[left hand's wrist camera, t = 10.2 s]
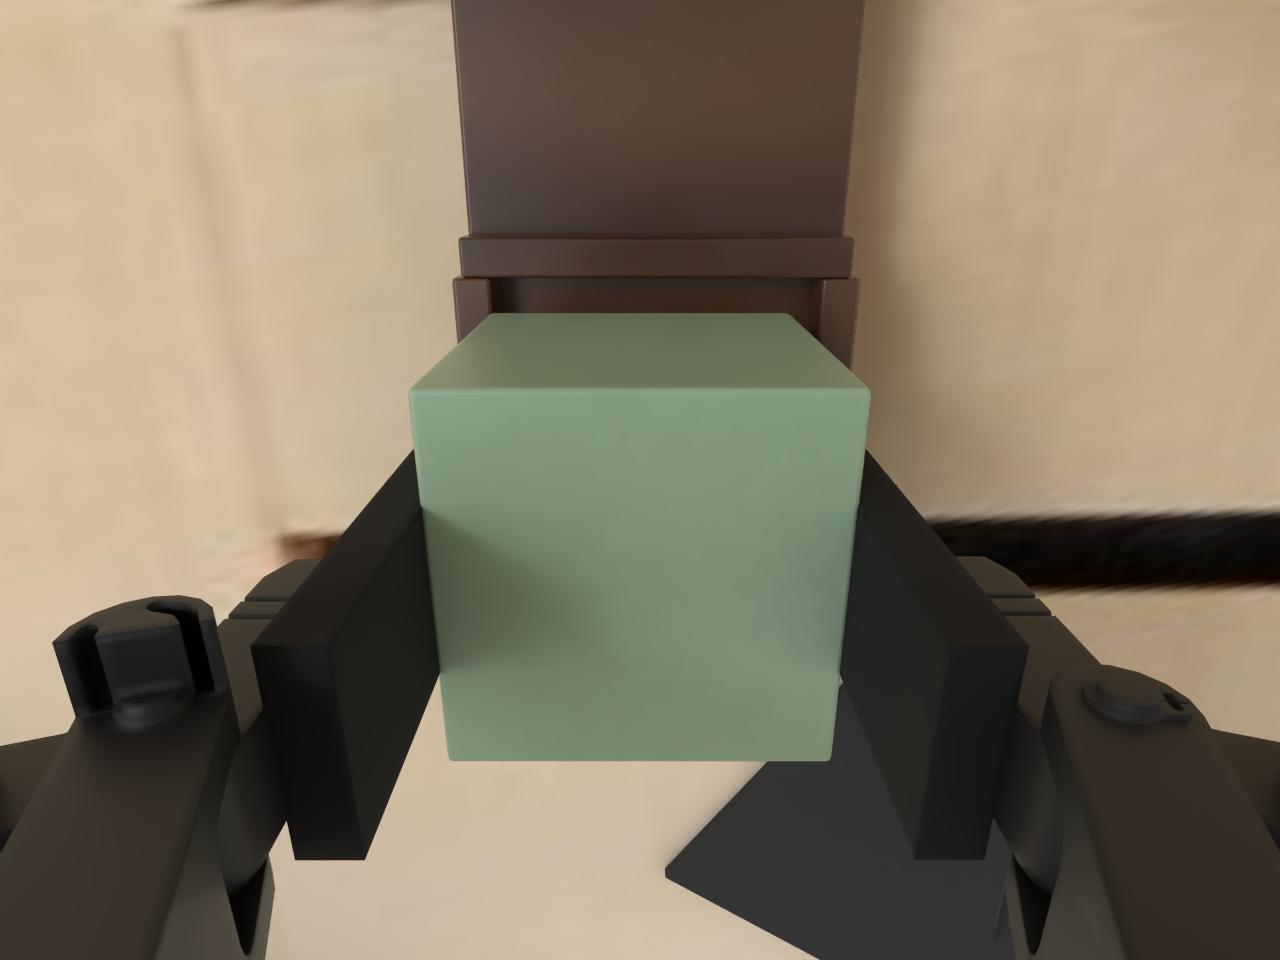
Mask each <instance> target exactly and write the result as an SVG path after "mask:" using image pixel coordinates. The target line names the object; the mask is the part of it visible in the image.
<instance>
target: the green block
mask: <svg viewBox="0 0 1280 960" xmlns="http://www.w3.org/2000/svg"><path fill="white" fill-rule="evenodd" d="M408 397H409V406H410V415H411V424H412V433H413V442H414V451H415V460H416V469H417V478H418V488H419V497H420V504H421V508H422V517H423V526H424V535H425V544H426V553H427V562H428V571H429V580H430V589H431V598H432V607H433V616H434V625H435V634H436V644H437V653H438V662H439V671H440V674H439V677H440V686H441V695H442V705H443V714H444V723H445V732H446V741H447V750H448V756H449V759H450V760H452V761H828V760H830V758H831V754H832V745H833V736H834V727H835V718H836V709H837V700H838V691H839V682H840V666H841V657H842V648H843V639H844V630H845V621H846V612H847V603H848V594H849V584H850V575H851V566H852V557H853V548H854V539H855V530H856V521H857V512H858V506H859V501H860V492H861V483H862V474H863V465H864V456H865V447H866V438H867V429H868V420H869V411H870V402H871V391H870V389H869V388H868V387H867V386H866V385H865V384H864V383H863V382H862V381H861V380H860V379H859V378H857V377H856V376H855V375H854V374H853V373H852V372H851V371H850V370H849V369H848V368H847V367H846V366H844V365H843V364H842V363H841V362H840V361H839V360H838V359H837V358H836V357H835V356H834V355H833V354H832V353H830V352H829V351H828V350H827V349H826V348H825V347H824V346H823V345H822V344H821V343H820V342H819V341H818V340H816V339H815V338H814V337H813V336H812V335H811V334H810V333H809V332H808V331H807V330H806V329H805V328H803V327H802V326H801V325H800V324H799V323H798V322H797V321H796V320H795V319H794V318H793V317H792V316H791V315H789V314H787V313H493V314H490V315H489V316H488V317H487V318H486V319H485V320H484V321H483V322H482V323H481V324H479V325H478V326H477V327H476V328H475V329H474V330H473V331H472V332H471V333H470V334H469V335H468V336H466V337H465V338H464V339H463V340H462V341H461V342H460V343H459V344H458V345H457V346H456V347H455V348H453V349H452V350H451V351H450V352H449V353H448V354H447V355H446V356H445V357H444V358H443V359H442V360H440V361H439V362H438V363H437V364H436V365H435V366H434V367H433V368H432V369H431V370H430V371H429V372H427V373H426V374H425V375H424V376H423V377H422V378H421V379H420V380H419V381H418V382H417V383H415V384H414V385H413V386H412V387H411V388H410V390H409V393H408Z"/></svg>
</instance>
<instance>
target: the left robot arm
mask: <svg viewBox="0 0 1280 960" xmlns="http://www.w3.org/2000/svg"><path fill="white" fill-rule="evenodd" d="M52 643H53V647H54V650H55V653H56V656H57V659H58V662H59V665H60V669H61V672H62V675H63V678H64V681H65V684H66V687H67V691H68V694H69V697H70V700H71V703H72V706H73V709H74V713H75V716H76V718H75V720H74V722H73V724H72V725H71V727H70V729H69V731H68V733H64V734H60V735H55V736H50V737H45V738H39V739H34V740H29V741H24V742H19V743H14V744H9V745H3V746H0V960H265V955H266V948H267V941H268V934H269V927H270V920H271V913H272V906H273V899H274V892H275V886H274V878H273V871H272V867H271V863H270V858H269V854H268V853H269V852H270V850H271V848H272V846H273V844H274V843H275V841H276V839H277V837H278V835H279V833H280V832H281V830H282V828H283V826H284V824H285V822H286V821H287V824H288V829H289V834H290V838H291V843H292V848H293V852H294V857H295V860H365V858H366V856H367V853H368V851H369V848H370V846H371V843H372V841H373V838H374V836H375V833H376V831H377V828H378V826H379V823H380V821H381V818H382V816H383V813H384V811H385V808H386V806H387V803H388V801H389V799H390V796H391V794H392V791H393V789H394V786H395V784H396V781H397V779H398V776H399V774H400V771H401V769H402V766H403V764H404V761H405V759H406V756H407V754H408V751H409V749H410V746H411V744H412V741H413V739H414V736H415V734H416V731H417V729H418V726H419V724H420V721H421V719H422V716H423V714H424V711H425V709H426V706H427V704H428V701H429V699H430V696H431V694H432V691H433V689H434V687H435V684H436V682H437V679H438V677H439V674H440V671H439V662H438V653H437V644H436V634H435V625H434V616H433V607H432V598H431V589H430V580H429V571H428V562H427V553H426V544H425V535H424V526H423V517H422V508H421V504H420V497H419V488H418V478H417V469H416V460H415V451H414V449H413V450H412V451H411V453H410V454H409V455H408V456H407V457H406V459H405V460H404V461H403V462H402V463H401V465H400V466H399V467H398V468H397V469H396V471H395V472H394V473H393V474H392V475H391V477H390V478H389V479H388V480H387V481H386V483H385V484H384V485H383V486H382V488H381V489H380V490H379V491H378V492H377V494H376V495H375V496H374V497H373V498H372V500H371V501H370V502H369V503H368V504H367V506H366V507H365V508H364V509H363V510H362V512H361V513H360V514H359V515H358V516H357V518H356V519H355V520H354V521H353V522H352V524H351V525H350V526H349V527H348V528H347V530H346V531H345V532H344V533H343V535H342V536H341V537H340V538H339V539H338V541H337V542H336V543H335V544H334V545H333V547H332V548H331V549H330V550H329V551H328V553H327V554H326V555H325V556H324V557H323V559H295V560H293V561H292V562H290V563H288V564H286V565H284V566H283V567H281V568H279V569H277V570H276V571H274V572H272V573H270V574H268V575H267V576H265V577H264V578H263V579H262V580H261V581H260V582H259V583H258V584H257V585H256V586H255V587H254V588H253V589H252V590H251V591H250V593H249V594H248V595H247V596H246V597H245V602H240V603H239V604H238V605H237V606H236V607H235V609H234V610H233V611H232V612H231V613H230V614H229V618H228V619H224V620H223V621H222V622H221V623H220V625H219V626H218V627H217V625H216V620H215V616H214V611H213V607H212V606H210V605H209V604H207V603H206V602H204V601H203V600H202V599H198V598H193V597H187V596H181V595H176V596H157V597H149V598H144V599H139V600H135V601H130V602H125V603H121V604H119V605H116V606H113V607H110V608H107V609H105V610H102V611H99V612H96V613H93V614H92V615H90V616H88V617H86V618H84V619H82V620H81V621H79V622H77V623H75V624H73V625H72V626H70V627H68V628H67V629H66V630H65V631H64V632H63V633H62V634H61V635H60V636H59V637H57V638H56V639H55V640H54V641H53V642H52ZM840 675H841V678H842V680H843V683H844V685H845V688H846V690H847V693H848V695H849V698H850V700H851V703H852V705H853V708H854V710H855V713H856V715H857V718H858V720H859V723H860V725H861V728H862V730H863V733H864V735H865V738H866V740H867V743H868V745H869V748H870V750H871V753H872V755H873V758H874V760H875V763H876V765H877V768H878V770H879V773H880V775H881V777H882V780H883V782H884V785H885V787H886V790H887V792H888V795H889V797H890V800H891V802H892V805H893V807H894V810H895V812H896V815H897V817H898V820H899V822H900V825H901V827H902V830H903V832H904V835H905V837H906V840H907V842H908V845H909V847H910V850H911V852H912V855H913V857H914V860H984V859H985V854H986V850H987V845H988V840H989V835H990V831H991V826H992V821H993V818H994V819H995V821H996V823H997V825H998V827H999V828H1000V830H1001V832H1002V834H1003V836H1004V837H1005V839H1006V841H1007V843H1008V845H1009V847H1010V848H1011V850H1012V854H1011V858H1010V863H1009V867H1008V871H1007V876H1006V880H1005V885H1004V889H1003V894H1002V898H1001V902H1000V907H999V911H998V916H997V920H996V924H995V932H994V939H993V942H996V943H1000V944H1004V945H1005V940H1006V936H1007V932H1008V928H1009V926H1010V925H1011V932H1012V939H1013V946H1014V953H1015V960H1280V742H1275V741H1270V740H1265V739H1260V738H1255V737H1249V736H1244V735H1239V734H1234V733H1229V732H1223V731H1219V730H1215V729H1211V727H1210V726H1209V724H1208V722H1207V720H1206V719H1205V717H1204V715H1203V714H1202V713H1201V712H1200V711H1199V710H1198V709H1197V707H1196V706H1195V705H1194V704H1193V703H1192V702H1191V701H1190V699H1188V698H1187V697H1185V696H1183V695H1182V694H1180V693H1179V692H1177V691H1176V690H1174V689H1173V688H1171V687H1170V686H1168V685H1167V684H1165V683H1162V682H1160V681H1158V680H1155V679H1153V678H1151V677H1148V676H1146V675H1143V674H1141V673H1139V672H1135V671H1131V670H1127V669H1123V668H1119V667H1115V666H1110V665H1101V664H1100V663H1099V662H1098V661H1097V660H1096V658H1095V657H1094V656H1093V655H1092V654H1091V653H1090V652H1089V651H1088V650H1087V649H1086V648H1085V647H1084V646H1083V645H1082V644H1081V643H1080V642H1079V641H1078V639H1077V638H1076V637H1075V636H1074V635H1073V634H1072V633H1071V632H1070V631H1069V630H1068V629H1067V628H1066V627H1065V626H1064V625H1063V624H1062V623H1061V621H1060V620H1059V619H1058V618H1057V617H1056V616H1052V615H1051V611H1050V610H1049V609H1048V608H1047V607H1046V606H1045V605H1044V603H1043V602H1042V601H1041V600H1040V599H1035V594H1034V593H1033V592H1032V591H1031V590H1030V589H1029V588H1028V587H1027V585H1026V584H1025V583H1024V582H1023V581H1022V580H1021V579H1020V578H1019V577H1018V576H1017V575H1016V574H1015V573H1013V572H1011V571H1009V570H1007V569H1006V568H1004V567H1002V566H1000V565H998V564H997V563H995V562H993V561H991V560H990V559H988V558H986V557H955V556H954V555H953V553H952V552H951V551H950V550H949V548H948V547H947V546H946V545H945V544H944V542H943V541H942V540H941V539H940V538H939V536H938V535H937V534H936V533H935V532H934V530H933V529H932V528H931V527H930V526H929V524H928V523H927V522H926V521H925V520H924V518H923V517H922V516H921V515H920V514H919V512H918V511H917V510H916V509H915V508H914V506H913V505H912V504H911V503H910V501H909V500H908V499H907V498H906V497H905V495H904V494H903V493H902V492H901V491H900V489H899V488H898V487H897V486H896V485H895V483H894V482H893V481H892V480H891V479H890V477H889V476H888V475H887V474H886V473H885V471H884V470H883V469H882V468H881V467H880V465H879V464H878V463H877V462H876V460H875V459H874V458H873V457H872V456H871V454H870V453H869V452H868V451H867V450H866V448H865V456H864V465H863V474H862V483H861V492H860V501H859V506H858V512H857V521H856V530H855V539H854V548H853V557H852V566H851V575H850V584H849V594H848V603H847V612H846V621H845V630H844V639H843V648H842V657H841V666H840Z"/></svg>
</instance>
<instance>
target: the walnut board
mask: <svg viewBox="0 0 1280 960" xmlns="http://www.w3.org/2000/svg"><path fill="white" fill-rule="evenodd" d="M864 6H865V0H451V9H452V22H453V35H454V48H455V61H456V74H457V87H458V100H459V113H460V125H461V138H462V151H463V164H464V177H465V190H466V203H467V216H468V229H469V235H466V236H463V237H461V238H459V241H458V242H459V254H460V266H461V275H459V276H458V277H456V278H454V279H453V282H452V284H453V296H454V307H455V319H456V330H457V342H458V344H459V343H460V342H461V341H462V340H463V339H464V338H465V337H466V336H468V335H469V334H470V333H471V332H472V331H473V330H474V329H475V328H476V327H477V326H478V325H479V324H481V323H482V322H483V321H484V320H485V319H486V318H487V317H488V316H489V315H490V314H493V313H787V314H789V315H791V316H792V317H793V318H794V319H795V320H796V321H797V322H798V323H799V324H800V325H801V326H802V327H803V328H805V329H806V330H807V331H808V332H809V333H810V334H811V335H812V336H813V337H814V338H815V339H816V340H818V341H819V342H820V343H821V344H822V345H823V346H824V347H825V348H826V349H827V350H828V351H829V352H830V353H832V354H833V355H834V356H835V357H836V358H837V359H838V360H839V361H840V362H841V363H842V364H843V365H844V366H846V367H847V368H848V369H849V370H850V371H851V370H852V360H853V351H854V341H855V331H856V321H857V311H858V301H859V292H860V280H859V279H858V278H856V277H854V276H852V266H853V255H854V245H855V240H854V238H852V237H849V236H846V235H843V234H844V223H845V212H846V202H847V191H848V180H849V169H850V158H851V147H852V136H853V125H854V115H855V104H856V93H857V82H858V71H859V60H860V49H861V38H862V28H863V17H864Z"/></svg>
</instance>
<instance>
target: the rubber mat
mask: <svg viewBox="0 0 1280 960" xmlns="http://www.w3.org/2000/svg"><path fill="white" fill-rule="evenodd" d="M1011 854H1012V850H1011V848H1010V847H1009V845H1008V843H1007V841H1006V839H1005V837H1004V836H1003V834H1002V832H1001V830H1000V828H999V827H998V825H997V823H996V821H995V819H994V818H993V821H992V826H991V831H990V835H989V840H988V845H987V850H986V854H985V859H984V860H914V857H913V855H912V852H911V850H910V847H909V845H908V842H907V840H906V837H905V835H904V832H903V830H902V827H901V825H900V822H899V820H898V817H897V815H896V812H895V810H894V807H893V805H892V802H891V800H890V797H889V795H888V792H887V790H886V787H885V785H884V782H883V780H882V777H881V775H880V773H879V770H878V768H877V765H876V763H875V760H874V758H873V755H872V753H871V750H870V748H869V745H868V743H867V740H866V738H865V735H864V733H863V730H862V728H861V725H860V723H859V720H858V718H857V715H856V713H855V710H854V708H853V705H852V703H851V700H850V698H849V695H848V693H847V690H846V688H845V685H844V683H843V684H842V685H841V686H840V687H839V691H838V700H837V709H836V718H835V727H834V736H833V745H832V754H831V758H830V760H828V761H768V762H767V763H766V764H765V765H764V766H763V767H762V768H761V769H760V770H759V771H758V772H757V773H756V775H755V776H754V777H753V778H752V779H751V780H750V781H749V782H748V783H747V784H746V785H745V786H744V787H743V788H742V789H741V790H740V791H739V792H738V793H737V794H736V795H735V796H734V797H733V798H732V799H731V801H730V802H729V803H728V804H727V805H726V806H725V807H724V808H723V809H722V810H721V811H720V812H719V813H718V814H717V815H716V816H715V817H714V818H713V819H712V820H711V821H710V822H709V823H708V824H707V825H706V826H705V828H704V829H703V830H702V831H701V832H700V833H699V834H698V835H697V836H696V837H695V838H694V839H693V840H692V841H691V842H690V843H689V844H688V845H687V846H686V847H685V848H684V849H683V850H682V851H681V852H680V854H679V855H678V856H677V857H676V858H675V859H674V860H673V861H672V862H671V863H670V864H669V865H668V866H667V867H666V868H665V877H666V878H667V879H669V880H671V881H673V882H675V883H677V884H679V885H681V886H682V887H684V888H686V889H688V890H690V891H692V892H694V893H696V894H697V895H699V896H701V897H703V898H705V899H707V900H709V901H711V902H713V903H714V904H716V905H718V906H720V907H722V908H724V909H726V910H728V911H729V912H731V913H733V914H735V915H737V916H739V917H741V918H743V919H744V920H746V921H748V922H750V923H752V924H754V925H756V926H758V927H759V928H761V929H763V930H765V931H767V932H769V933H771V934H773V935H774V936H776V937H778V938H780V939H782V940H784V941H786V942H788V943H789V944H791V945H793V946H795V947H797V948H799V949H801V950H803V951H805V952H806V953H808V954H810V955H812V956H814V957H816V958H818V959H820V960H1015V953H1014V946H1013V939H1012V932H1011V925H1010V926H1009V928H1008V932H1007V936H1006V940H1005V945H1004V944H1000V943H996V942H993V939H994V932H995V924H996V920H997V916H998V911H999V907H1000V902H1001V898H1002V894H1003V889H1004V885H1005V880H1006V876H1007V871H1008V867H1009V863H1010V858H1011Z"/></svg>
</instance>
